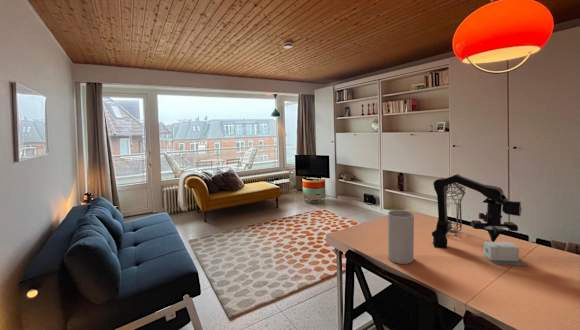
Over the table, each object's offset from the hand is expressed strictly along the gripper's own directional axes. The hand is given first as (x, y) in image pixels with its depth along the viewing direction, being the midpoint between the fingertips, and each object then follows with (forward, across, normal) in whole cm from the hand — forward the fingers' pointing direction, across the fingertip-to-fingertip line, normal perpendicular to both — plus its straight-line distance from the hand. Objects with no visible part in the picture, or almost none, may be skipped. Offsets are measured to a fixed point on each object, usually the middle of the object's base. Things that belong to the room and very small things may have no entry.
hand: (492, 241), depth 139 cm
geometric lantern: (+10, +12, -34) cm, 37 cm away
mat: (+9, -6, 0) cm, 11 cm away
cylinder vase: (+10, +45, +9) cm, 47 cm away
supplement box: (+5, +2, 0) cm, 6 cm away
